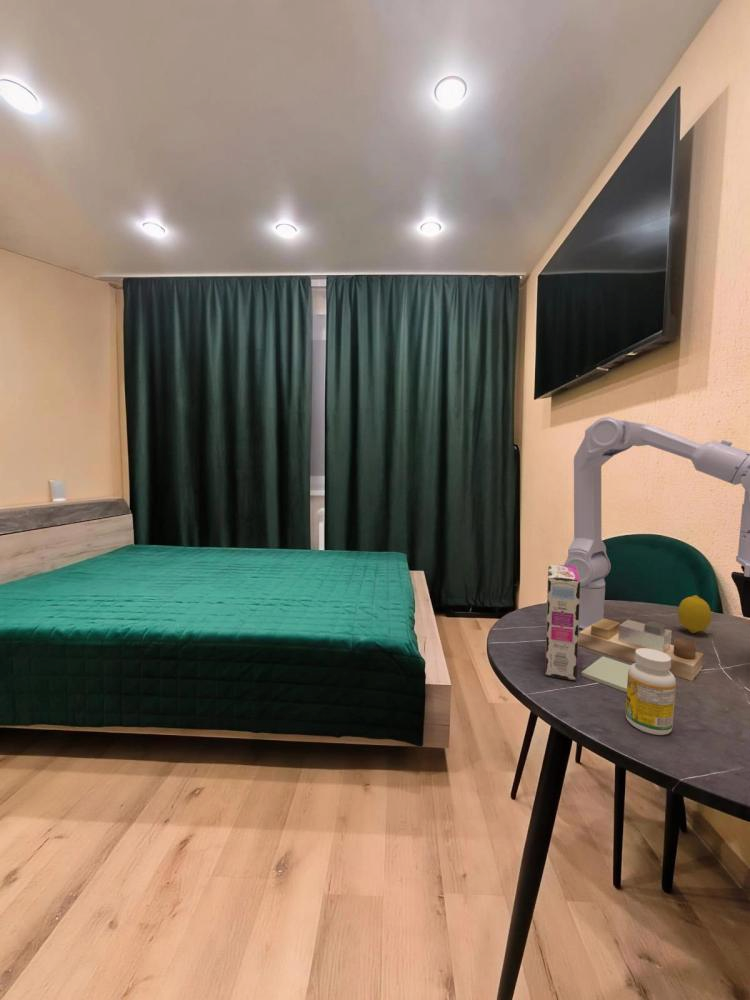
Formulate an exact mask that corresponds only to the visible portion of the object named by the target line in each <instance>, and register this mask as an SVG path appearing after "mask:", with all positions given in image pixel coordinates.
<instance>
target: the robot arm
mask: <svg viewBox="0 0 750 1000" xmlns="http://www.w3.org/2000/svg"><path fill="white" fill-rule="evenodd" d="M580 443H581V444H580V445H579V447H578V449H577V451H576V453H575V454H574V457H573V535H574V536H573V540H572V543H570V545H569V547H568V549H567V551H568V552H567V553H568V554H567V557H566V560H565V561H564V564H563V565H566V566H575V567H577V571H578V575H579V579H580V603H579V629H581V630H584V629H585V628H587V627H589V626H591V625H592V624H595V623H597V622H598V621H600V620H602V619H603V618H604V611H605V595H606V594H605V593H606V581H605V577H607V576H608V574H610V572H611V569H612V568H611V562H610V559H609V557H608V555H607V547H606V544H605V543H604V541H603V539H602V467H603V465H605V464H606V463H607V462H608V461H609V460H610V459H612V458H613V457H614V456H616V455H619V454H620V453H622V452H625V451H627V450H629V449H631V448H632V447H645V446H649V447H651V448H656V449H658V450H662V451H664V452H667V453H670V454H673V455H676V456H679V457H681V458H685V459H687V460H690V461H691V462H692V464H693V467H694V469H695V470H696V471H698V472H700V473H702V474H703V473H704V474H706V475H708V476H711V477H713V478H716V479H719V480H721V481H724V482H726V483H729V484H731V485H734V486H737V485H740V484H741V486H742V487H743V489H744V498H743V503H742V504H741V517H740V525H739V528H740V529H739V539H738V548H737V549H738V550H737V555H735V562H737V563H738V564H739V565H741V566H740V568H741V570H742V572H738V571H732V572H731V573H730V574H731V576H730V577H731V579H732V581H733V583H734V585H735V587H736V590H737V592H738V596H739V602H740V609H741V614H742V616H743V618H747V619H750V451H748V450H744V449H741V448H739V447H738V448H737V447H736V446H732V444H733V442H731V441H729V440H726V439H722V440H721V441H717V440H711V441H707V442H705V443H699V442H696V441H694V440H692V439H691V440H690V439H688V438H685V437H683V436H680V435H677V434H675V433H672V432H670V431H667V430H664V429H662V428H659V427H657V426H654V425H650V424H645V423H639V422H636V421H635V422H634V421H629V420H623V419H618V418H617V419H616V418H614V417H610V416H605V417H602V418H598V419H597V420H595V421H594V422H593V423H592V424H591V425H590V426H589V427H587V428H586V429H585V430H584V438H583V440H582V441H581V442H580Z"/></svg>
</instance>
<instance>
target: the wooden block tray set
mask: <svg viewBox="0 0 750 1000" xmlns="http://www.w3.org/2000/svg"><path fill="white" fill-rule="evenodd" d="M620 624H621V622H619V621H616V620H612V619H609V618H604V617H603V619H602V620H600V621H598V622H597V623H595V624H592V625H591V626H589V627H587V628H585V629H581V630H580V631H579V632H578V646H580V647H584V648H587V649H590V650H594V651H597V652H599V653H603V654H605V655H609V656H612V657H616V658H618V659H621V660H624V661H628V662H631V663H633V664H634V663H636V662H635V651H636V649H639V647H636V646H633V645H629V644H626V643H622V642H619V641H618V637H619V625H620ZM696 650H697V643H696V642H695V641H693V640H691V639H688V638H687V639H686V638H683V637H682V638H679V637H677V638H674V642H673V644H671V647H670V648H669V649H668V650H667V651H666V652H665V654H667V655H668V656H670V658H671V668H670V670H669V671H670V672H671V673H672V674H673V675H674V677H678V678H682V679H685V680H688V681H691V682H692V681H694V679H695V678H696V677H697V675H698V674H699V673H700V672H701V670H702V669H703V664H704V654H705V653H702V652H700V651H696Z"/></svg>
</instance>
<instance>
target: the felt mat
mask: <svg viewBox="0 0 750 1000" xmlns="http://www.w3.org/2000/svg"><path fill="white" fill-rule="evenodd" d="M631 665H632V664H628V663H625V662H622V661H618V660H615V659H612V658H610V657H606V656H601V657H600V658H598V659H596V660H595V661H594V662H593V663H592V664H591V665H589V666H588V667H586V668H585V669H584V670H582V671H581V672H580V676H581V677H583V678H586V679H589V680H591V681H594V682H597V683H600V684H603V685H606V686H608V687H610V688H614V689H616V690H618V691H622V692H625V693H627V682H628V669H629V667H630V666H631Z"/></svg>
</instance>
